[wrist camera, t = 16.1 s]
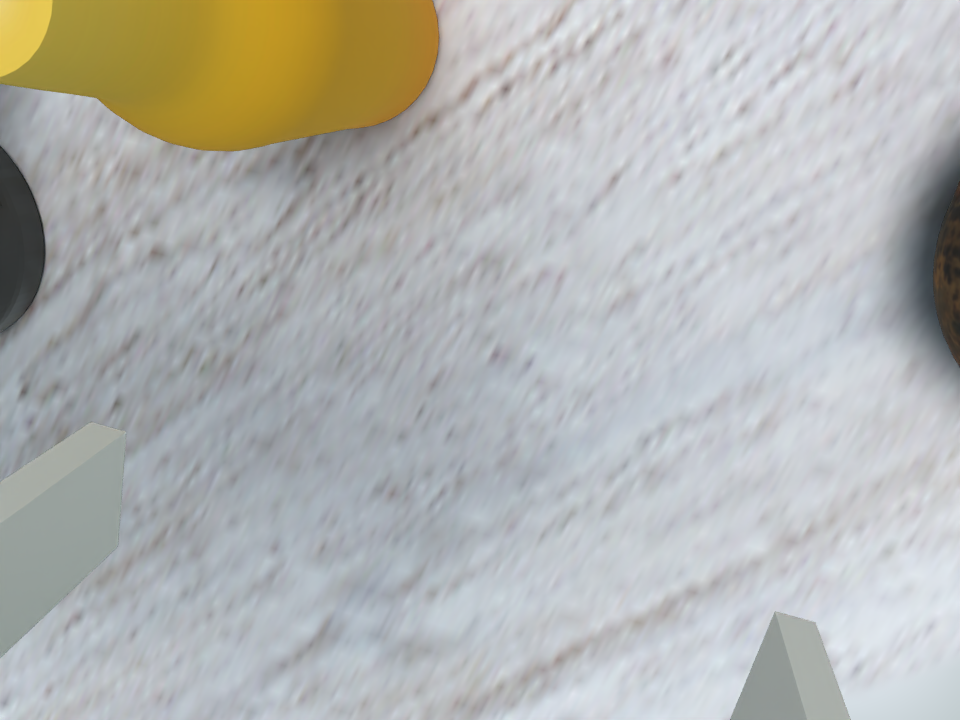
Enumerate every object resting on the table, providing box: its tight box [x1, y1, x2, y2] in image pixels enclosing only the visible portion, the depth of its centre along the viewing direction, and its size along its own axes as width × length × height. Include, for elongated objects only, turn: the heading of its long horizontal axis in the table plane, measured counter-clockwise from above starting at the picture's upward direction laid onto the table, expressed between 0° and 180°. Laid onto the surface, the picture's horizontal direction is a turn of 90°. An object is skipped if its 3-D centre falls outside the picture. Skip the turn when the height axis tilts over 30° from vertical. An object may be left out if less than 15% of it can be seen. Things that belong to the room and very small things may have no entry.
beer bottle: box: [0, 0, 439, 151], centre depth 31 cm, size 9×9×29 cm
